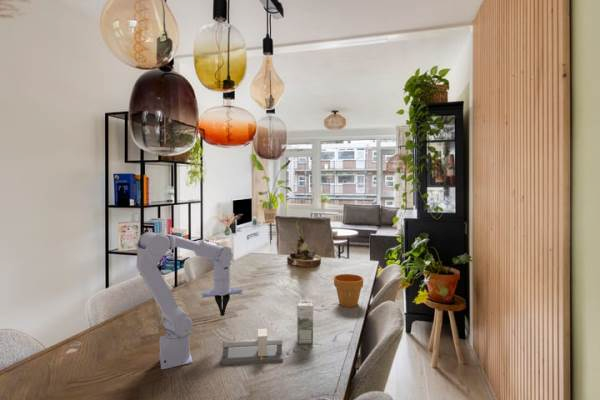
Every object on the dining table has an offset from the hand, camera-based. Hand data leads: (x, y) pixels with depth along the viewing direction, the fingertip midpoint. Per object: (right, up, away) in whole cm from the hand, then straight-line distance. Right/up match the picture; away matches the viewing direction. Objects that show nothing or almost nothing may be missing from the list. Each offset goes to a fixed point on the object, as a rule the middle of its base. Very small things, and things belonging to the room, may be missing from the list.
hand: (222, 314), depth 121 cm
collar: (+16, -9, -9) cm, 21 cm away
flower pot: (+52, -9, +40) cm, 67 cm away
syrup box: (+30, -10, +2) cm, 32 cm away
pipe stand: (+13, -11, -10) cm, 19 cm away
